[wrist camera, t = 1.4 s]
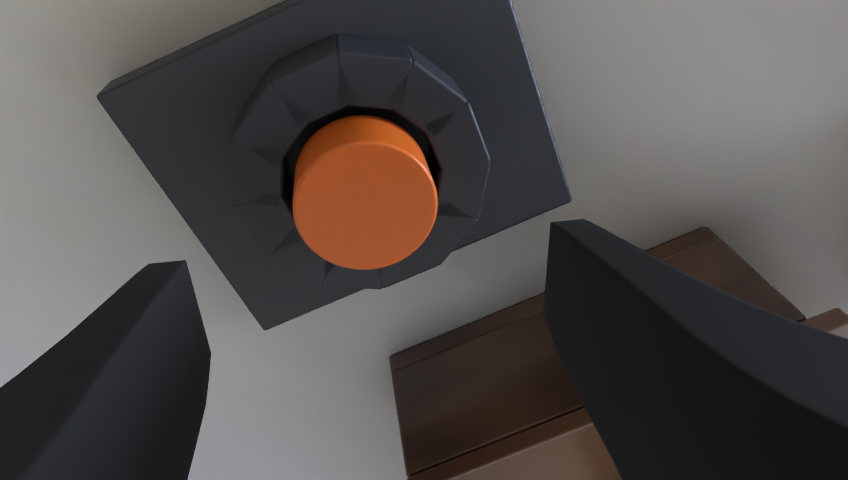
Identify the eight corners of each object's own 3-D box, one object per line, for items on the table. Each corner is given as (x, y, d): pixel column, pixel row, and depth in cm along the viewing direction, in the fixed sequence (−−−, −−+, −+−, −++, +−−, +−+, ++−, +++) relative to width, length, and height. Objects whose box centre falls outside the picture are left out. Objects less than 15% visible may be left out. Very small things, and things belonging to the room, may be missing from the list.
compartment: (706, 225, 21) (807, 316, 16) (745, 451, 27) (824, 558, 23) (388, 356, 22) (405, 475, 17) (499, 545, 28) (532, 665, 24)
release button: (396, 91, 14) (405, 117, 13) (445, 203, 16) (458, 238, 14) (269, 147, 14) (264, 179, 13) (331, 252, 16) (332, 291, 15)
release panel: (474, -88, 15) (506, -80, 12) (559, 184, 19) (597, 232, 17) (108, 82, 16) (67, 122, 13) (266, 308, 20) (258, 373, 17)
